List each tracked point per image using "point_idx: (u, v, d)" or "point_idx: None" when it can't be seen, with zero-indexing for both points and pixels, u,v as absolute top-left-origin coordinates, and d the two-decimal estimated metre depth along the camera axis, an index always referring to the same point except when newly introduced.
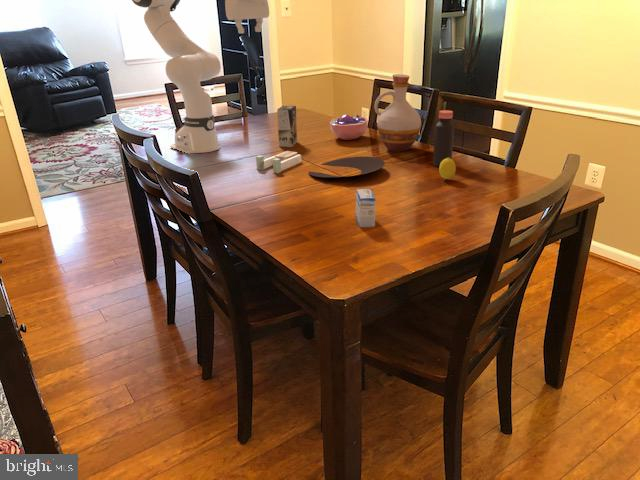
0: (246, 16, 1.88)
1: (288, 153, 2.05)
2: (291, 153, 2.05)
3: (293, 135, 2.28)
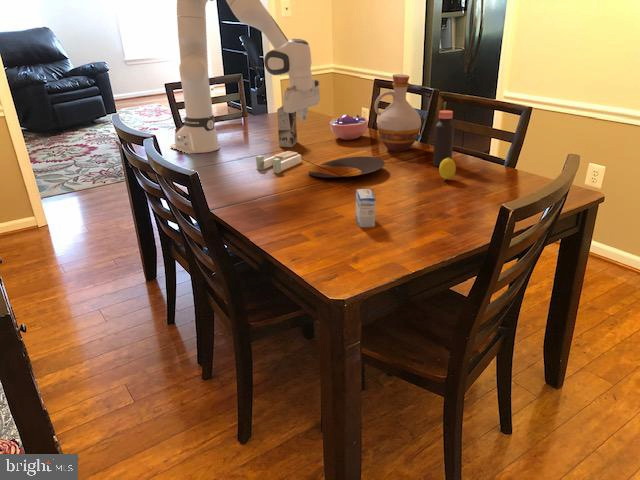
0: None
1: (288, 153, 2.05)
2: (291, 153, 2.05)
3: (293, 135, 2.28)
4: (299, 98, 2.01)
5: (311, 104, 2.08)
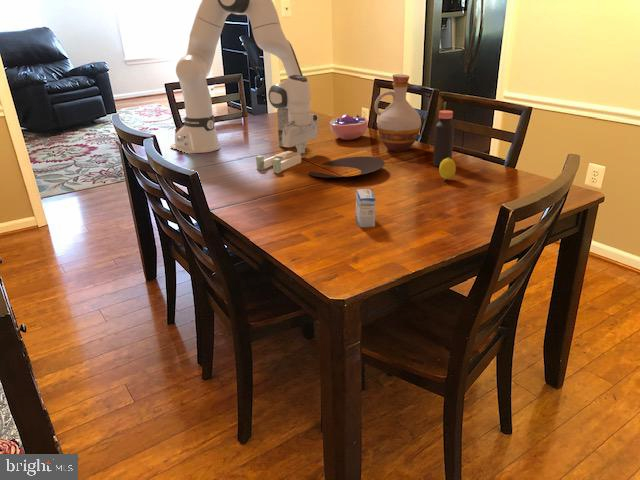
0: None
1: (288, 153, 2.05)
2: (291, 153, 2.05)
3: None
4: (298, 133, 2.05)
5: (309, 138, 2.12)
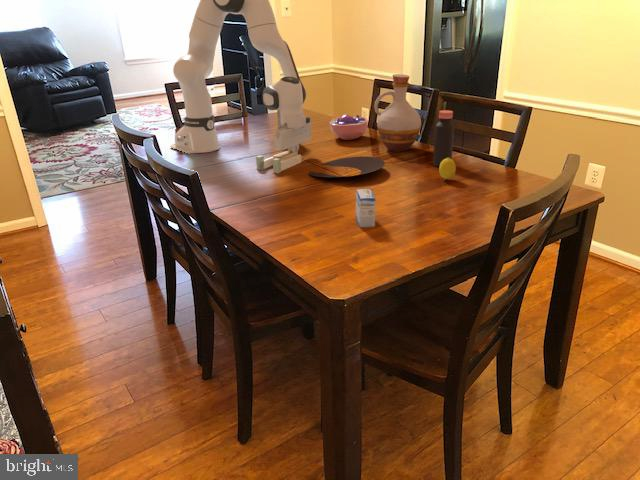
0: None
1: (287, 153, 2.04)
2: (290, 153, 2.04)
3: None
4: (290, 135, 2.02)
5: (302, 140, 2.09)
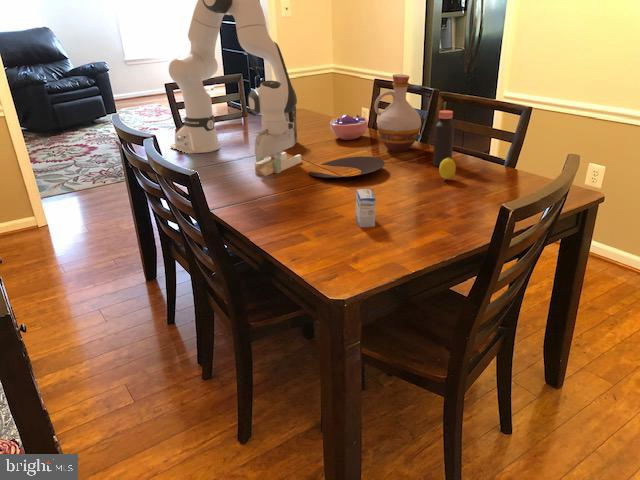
0: None
1: (269, 160, 1.95)
2: (272, 160, 1.95)
3: None
4: (272, 142, 1.93)
5: (285, 147, 2.00)
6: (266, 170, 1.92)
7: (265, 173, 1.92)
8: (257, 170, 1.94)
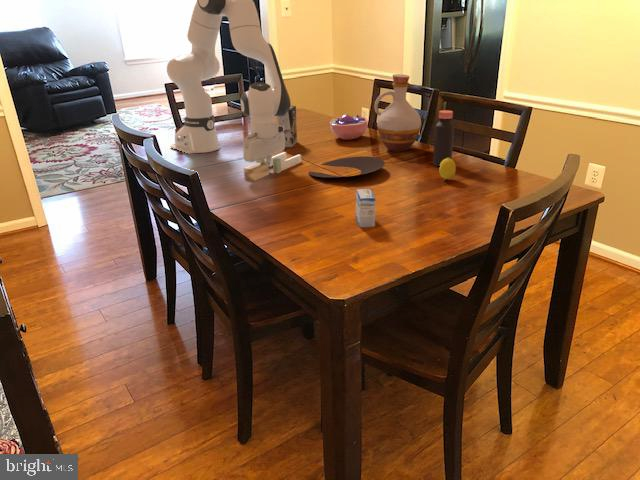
0: None
1: (259, 165, 1.91)
2: (262, 165, 1.91)
3: (293, 135, 2.28)
4: (261, 146, 1.88)
5: (275, 151, 1.95)
6: (255, 175, 1.87)
7: (255, 179, 1.87)
8: (246, 175, 1.89)
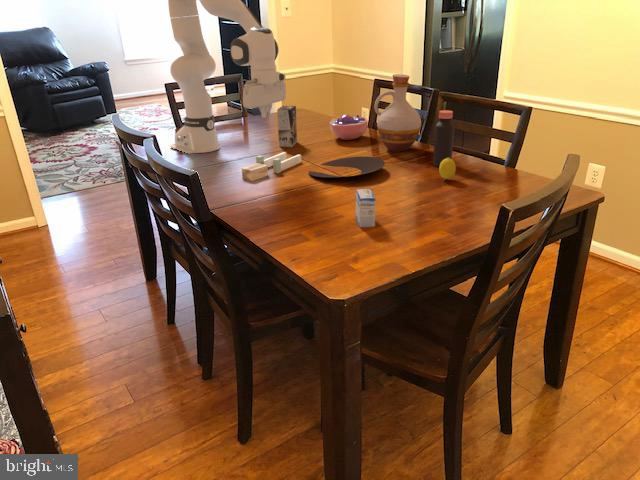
0: None
1: (257, 166, 1.90)
2: (260, 166, 1.90)
3: (293, 135, 2.28)
4: (261, 93, 1.82)
5: (275, 100, 1.89)
6: (252, 176, 1.87)
7: (251, 179, 1.87)
8: (244, 175, 1.89)
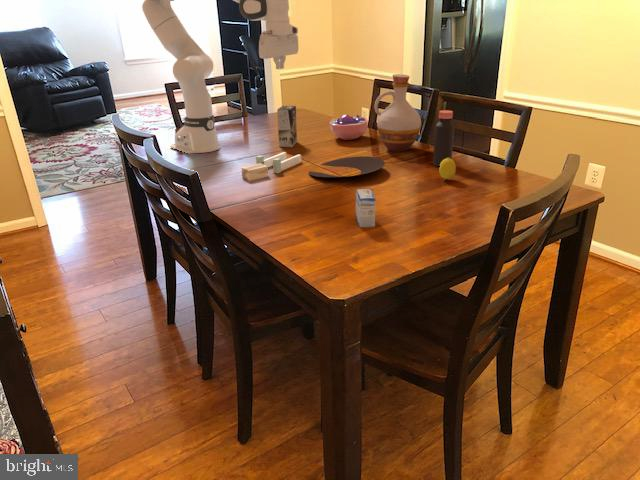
0: None
1: (257, 166, 1.90)
2: (260, 166, 1.90)
3: (293, 135, 2.28)
4: (276, 44, 1.94)
5: (289, 52, 2.01)
6: (250, 176, 1.87)
7: (249, 179, 1.87)
8: (243, 175, 1.90)
